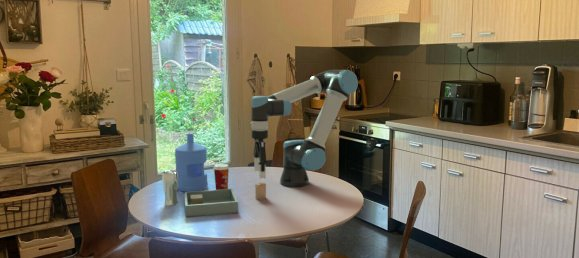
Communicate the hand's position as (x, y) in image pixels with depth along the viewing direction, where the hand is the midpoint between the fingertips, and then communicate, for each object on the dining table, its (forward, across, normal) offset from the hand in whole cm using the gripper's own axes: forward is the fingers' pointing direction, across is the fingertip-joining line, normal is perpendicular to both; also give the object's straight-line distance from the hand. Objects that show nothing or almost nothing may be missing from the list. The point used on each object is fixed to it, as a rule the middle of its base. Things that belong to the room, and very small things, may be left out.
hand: (259, 174), depth 209 cm
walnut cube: (+12, +7, -29) cm, 32 cm away
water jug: (+12, -25, -30) cm, 41 cm away
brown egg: (+12, 0, 0) cm, 12 cm away
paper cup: (+12, -13, -16) cm, 24 cm away
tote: (+12, +7, -24) cm, 27 cm away
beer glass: (+12, -2, -40) cm, 42 cm away
